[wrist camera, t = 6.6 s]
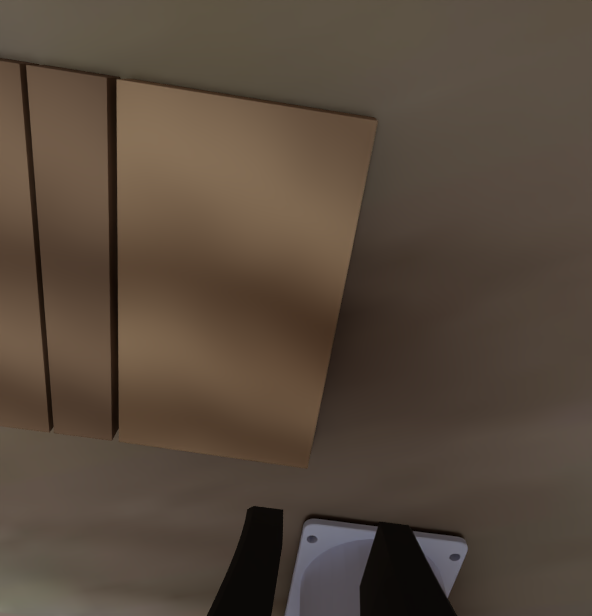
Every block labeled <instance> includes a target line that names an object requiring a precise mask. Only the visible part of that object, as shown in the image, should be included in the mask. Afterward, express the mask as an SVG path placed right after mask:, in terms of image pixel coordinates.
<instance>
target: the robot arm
mask: <svg viewBox="0 0 592 616" xmlns="http://www.w3.org/2000/svg"><path fill="white" fill-rule="evenodd" d="M282 540H283V510H281V509H273V508H265V507H257V506H253V507H251V508H249V509H247V514H246V519H245V523H244V527H243V530H242V534H241V537H240V540H239V543H238V546H237V548H236V551H235V554H234V556H233V559H232V561H231V564H230V566H229V569H228V571H227V573H226V576H225V578H224V580H223V582H222V584H221V587H220V589H219V591H218V593H217V595H216V598H215V600H214V602H213V604H212V606H211V608H210V610H209V612H208V614H207V616H271V613H272V607H273V601H274V594H275V588H276V582H277V575H278V569H279V562H280V556H281V550H282ZM467 551H468V546H467V543H466V541H465V540H464V539H463V538H461V537H456V536H448V535H441V534H433V533H425V532H417V531H412V529H411V528H410V527H409V525H401V524H393V523H385V522H379V525H378V526H370V525H362V524H354V523H346V522H338V521H331V520H323V519H309V520H307V521H306V522H305V523H304V525H303V529H302V534H301V539H300V543H299V548H298V553H297V558H296V562H295V567H294V572H293V576H292V581H291V586H290V591H289V595H288V600H287V605H286V610H285V614H284V616H457V615H456V613H455V611H454V610H453V608H452V606H451V604H450V602H449V601H448V596H449V594H450V591H451V589H452V587H453V584H454V582H455V580H456V577H457V575H458V572H459V570H460V568H461V565H462V563H463V560H464V558H465V556H466V553H467Z"/></svg>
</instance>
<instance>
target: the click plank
mask: <svg viewBox="0 0 592 616" xmlns="http://www.w3.org/2000/svg"><path fill="white" fill-rule="evenodd" d="M377 123H378V121H377V120H376V119H375V118H373V117H367V116H361V115H354V114H348V113H342V112H336V111H329V110H323V109H317V108H311V107H304V106H298V105H292V104H285V103H279V102H273V101H267V100H260V99H254V98H248V97H242V96H235V95H229V94H223V93H217V92H210V91H204V90H198V89H192V88H185V87H179V86H173V85H166V84H160V83H154V82H148V81H141V80H135V79H117V222H118V370H119V442H125V443H132V444H139V445H146V446H153V447H160V448H167V449H174V450H181V451H187V452H194V453H201V454H208V455H215V456H222V457H229V458H236V459H243V460H250V461H257V462H264V463H271V464H278V465H285V466H292V467H299V468H306V469H307V468H308V463H309V458H310V453H311V449H312V444H313V439H314V434H315V429H316V424H317V419H318V414H319V409H320V404H321V399H322V394H323V389H324V384H325V380H326V375H327V370H328V365H329V360H330V355H331V350H332V345H333V340H334V335H335V330H336V325H337V320H338V316H339V311H340V306H341V301H342V296H343V291H344V286H345V281H346V276H347V271H348V266H349V261H350V256H351V252H352V247H353V242H354V237H355V232H356V227H357V222H358V217H359V212H360V207H361V202H362V197H363V192H364V187H365V183H366V178H367V173H368V168H369V163H370V158H371V153H372V148H373V143H374V138H375V133H376V128H377Z"/></svg>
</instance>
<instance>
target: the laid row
mask: <svg viewBox="0 0 592 616" xmlns="http://www.w3.org/2000/svg"><path fill="white" fill-rule="evenodd" d="M117 79H120V77H116V76H110V75H104V74H97V73H91V72H85V71H78V70H72V69H66V68H59V67H53V66H47V65H39V64H34V63H28V62H22V61H15V60H9V59H3V58H0V426H3V427H11V428H18V429H26V430H34V431H41V432H50V431H51V430H52V428H53V427H54V433H57V434H64V435H72V436H79V437H87V438H95V439H102V440H110V441H112V439H113V438H114V436H115V434H116V432H117V430H118V428H119V370H118V222H117Z"/></svg>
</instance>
